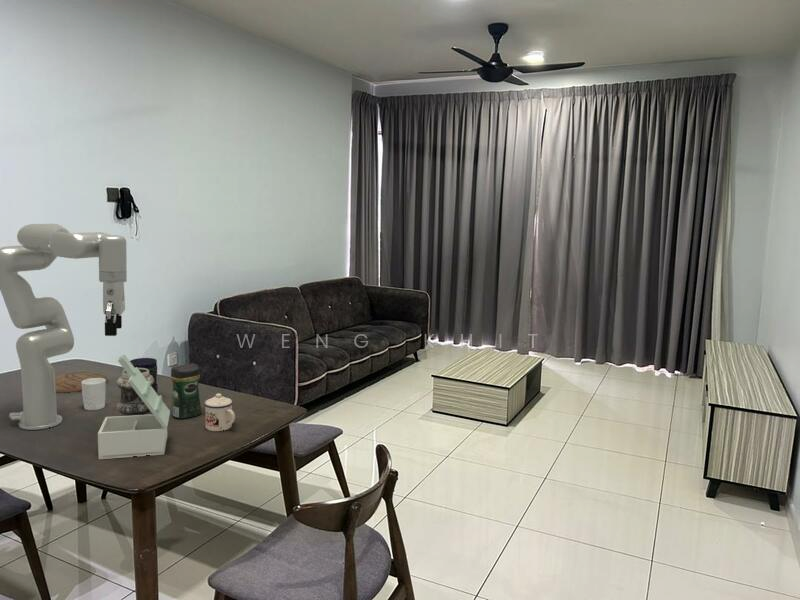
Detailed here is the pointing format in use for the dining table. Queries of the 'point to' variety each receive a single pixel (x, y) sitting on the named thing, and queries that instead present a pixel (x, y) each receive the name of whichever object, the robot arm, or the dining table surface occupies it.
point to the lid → (146, 392)
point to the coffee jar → (185, 391)
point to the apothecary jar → (132, 395)
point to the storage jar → (148, 364)
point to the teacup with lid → (218, 413)
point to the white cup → (94, 393)
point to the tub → (131, 437)
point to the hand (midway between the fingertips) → (113, 331)
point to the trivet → (74, 381)
